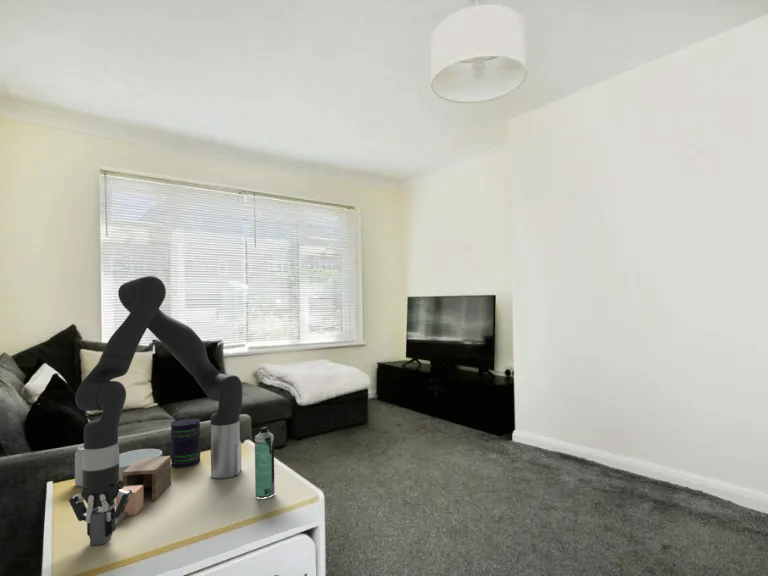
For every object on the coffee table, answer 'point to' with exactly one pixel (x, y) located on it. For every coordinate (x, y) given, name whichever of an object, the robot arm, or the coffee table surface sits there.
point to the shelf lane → (150, 474)
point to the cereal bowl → (135, 458)
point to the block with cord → (131, 509)
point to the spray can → (264, 464)
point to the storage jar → (185, 443)
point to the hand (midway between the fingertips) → (101, 535)
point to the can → (79, 466)
